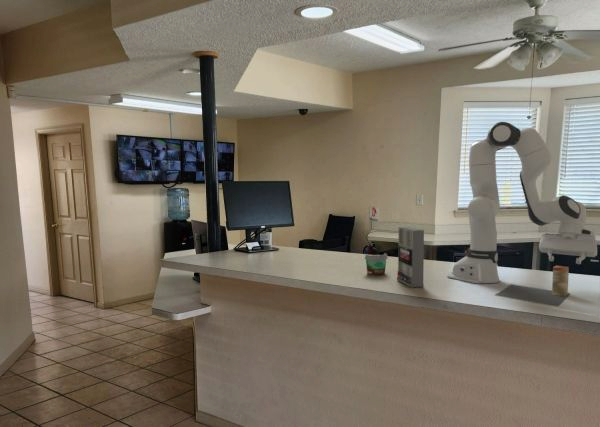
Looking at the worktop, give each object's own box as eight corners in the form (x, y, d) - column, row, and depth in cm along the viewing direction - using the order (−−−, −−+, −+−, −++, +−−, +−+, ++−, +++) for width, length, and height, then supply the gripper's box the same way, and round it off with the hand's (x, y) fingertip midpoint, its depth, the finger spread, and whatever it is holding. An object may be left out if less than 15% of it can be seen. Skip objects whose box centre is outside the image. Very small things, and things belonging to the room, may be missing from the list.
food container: (371, 277, 197) (371, 256, 196) (364, 274, 202) (364, 254, 202) (392, 274, 202) (392, 254, 201) (385, 272, 207) (385, 252, 207)
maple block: (552, 294, 163) (553, 267, 162) (554, 292, 166) (555, 265, 165) (565, 296, 160) (566, 268, 159) (567, 294, 163) (568, 266, 162)
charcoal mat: (494, 296, 163) (494, 295, 163) (511, 285, 179) (511, 284, 179) (558, 307, 148) (558, 306, 148) (570, 294, 164) (570, 293, 164)
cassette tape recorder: (396, 280, 190) (396, 227, 188) (408, 279, 192) (408, 226, 189) (410, 288, 177) (411, 230, 175) (423, 287, 178) (424, 230, 176)
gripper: (540, 228, 177) (534, 254, 171) (598, 232, 163) (593, 260, 157) (543, 237, 181) (536, 263, 174) (600, 241, 167) (595, 269, 160)
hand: (564, 261), depth 166 cm, fingers open, 8 cm apart
